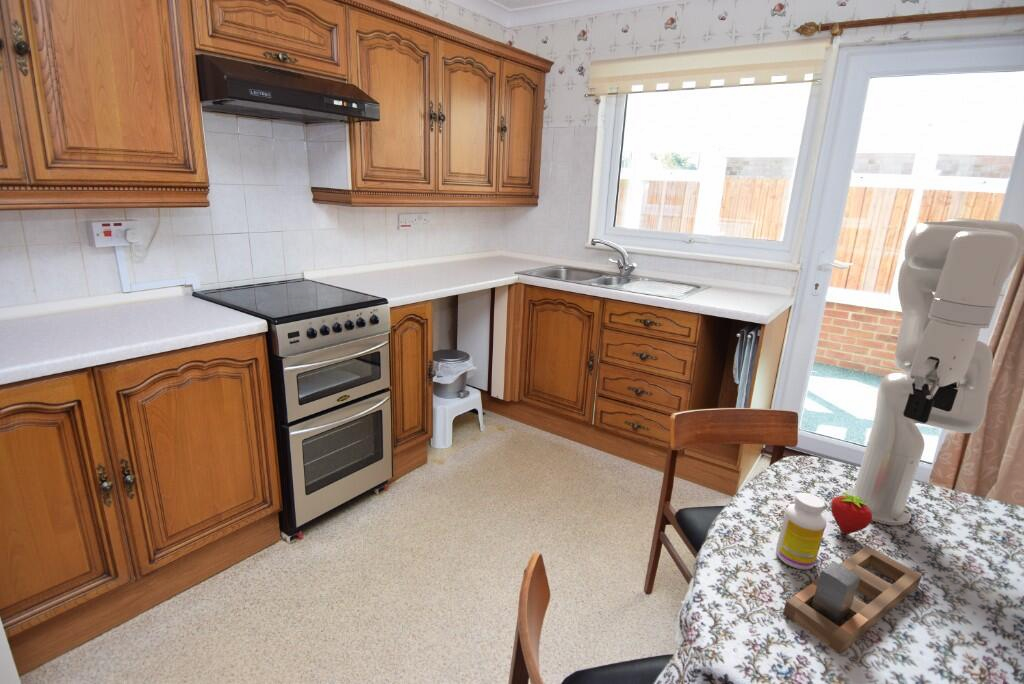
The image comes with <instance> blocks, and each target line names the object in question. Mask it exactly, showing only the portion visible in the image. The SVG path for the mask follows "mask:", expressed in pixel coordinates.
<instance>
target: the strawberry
mask: <svg viewBox="0 0 1024 684" xmlns="http://www.w3.org/2000/svg"><path fill="white" fill-rule="evenodd" d="M844 492H845V491H842V493H843V495H844V494H845V495H846V496H847V497H846V496H843V495H840V496H839V495H838V496H836V497H834V498H833V499H832V501H831V503H830V508H831V515H832V516H833V519H834V521H835V523H836V524H837V526H838V528H839V530H840V532H841V533H843V534H844V535H850V534H853V533H857V532H859V531H861V530H864V529H866V528H867V527H868V526H869V525H870V524H871V523H872V522H873V521H872V513H871V511H870V510H869V508H868V507H867V505H866V504H864V503H863V502H866V501H863V500H861V499H858V498H859V496H855V497H853V496H852V495H851V496H850V495H848V494H846V493H844ZM853 493H854V491H853Z"/></svg>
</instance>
